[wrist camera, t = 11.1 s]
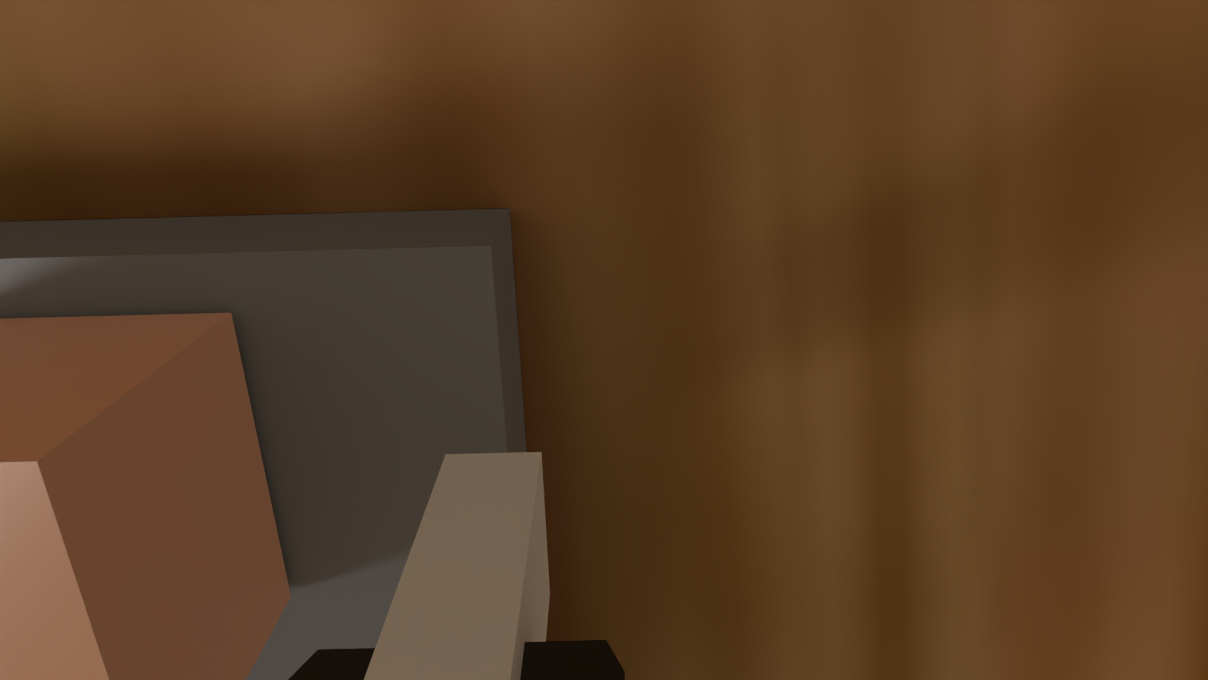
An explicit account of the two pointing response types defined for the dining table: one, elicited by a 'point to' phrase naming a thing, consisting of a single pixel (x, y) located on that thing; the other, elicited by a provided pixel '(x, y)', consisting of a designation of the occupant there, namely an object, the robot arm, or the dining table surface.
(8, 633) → the salmon orange block
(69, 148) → the dining table surface
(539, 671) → the robot arm
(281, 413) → the console
